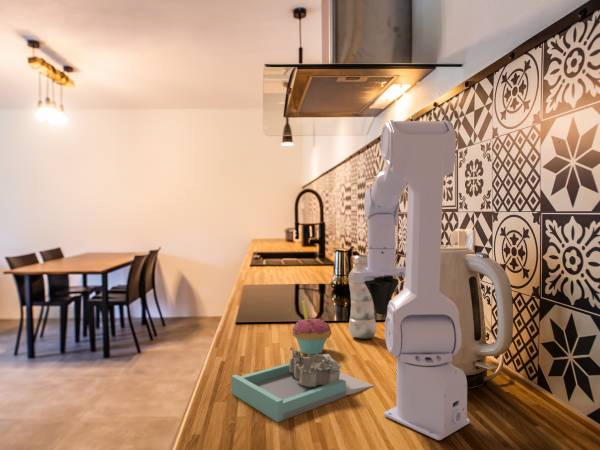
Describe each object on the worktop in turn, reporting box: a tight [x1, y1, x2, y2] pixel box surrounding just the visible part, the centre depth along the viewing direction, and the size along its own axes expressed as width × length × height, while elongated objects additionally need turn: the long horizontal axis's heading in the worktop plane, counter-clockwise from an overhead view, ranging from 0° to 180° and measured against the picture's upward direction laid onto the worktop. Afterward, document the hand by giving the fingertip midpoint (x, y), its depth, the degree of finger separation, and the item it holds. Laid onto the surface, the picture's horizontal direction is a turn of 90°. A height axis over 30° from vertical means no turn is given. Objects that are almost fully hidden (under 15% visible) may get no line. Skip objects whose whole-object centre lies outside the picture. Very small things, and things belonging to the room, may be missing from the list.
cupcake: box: [291, 297, 332, 355], centre depth 94 cm, size 9×8×12 cm
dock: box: [230, 362, 375, 423], centre depth 73 cm, size 13×21×4 cm, turn 129°
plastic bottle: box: [347, 254, 377, 340], centre depth 104 cm, size 6×7×20 cm
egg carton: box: [288, 346, 343, 387], centre depth 75 cm, size 11×8×4 cm
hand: (381, 313), depth 89 cm, fingers closed
